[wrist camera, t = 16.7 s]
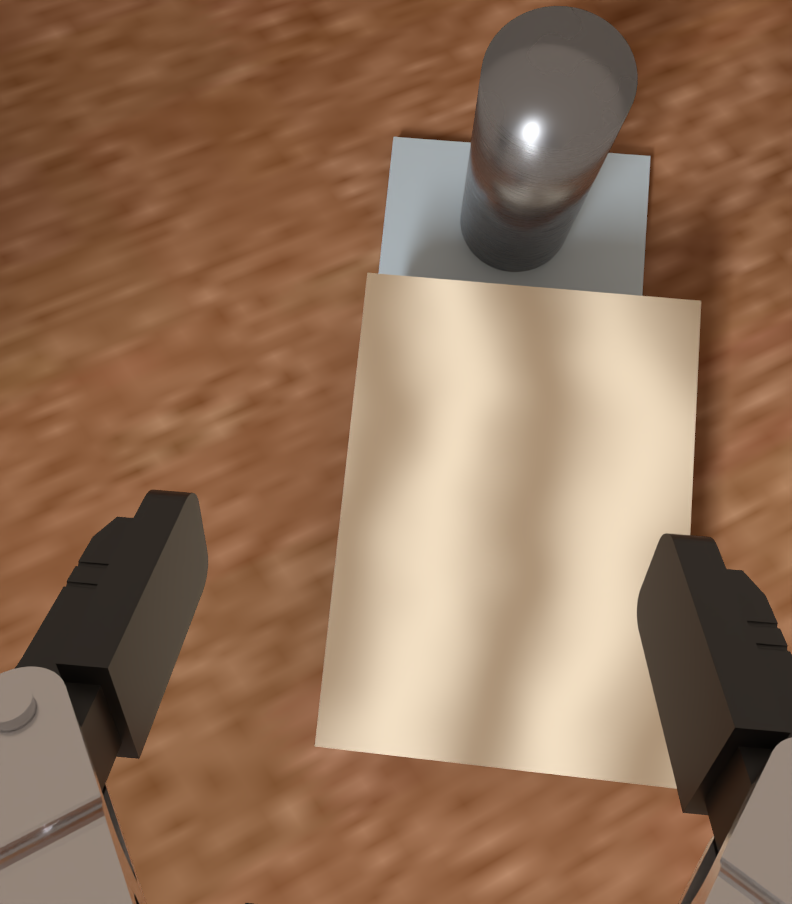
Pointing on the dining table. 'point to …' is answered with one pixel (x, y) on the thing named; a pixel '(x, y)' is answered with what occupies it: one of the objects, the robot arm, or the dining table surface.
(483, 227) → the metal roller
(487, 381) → the birch slab
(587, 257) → the slate-grey pad
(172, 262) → the dining table surface
